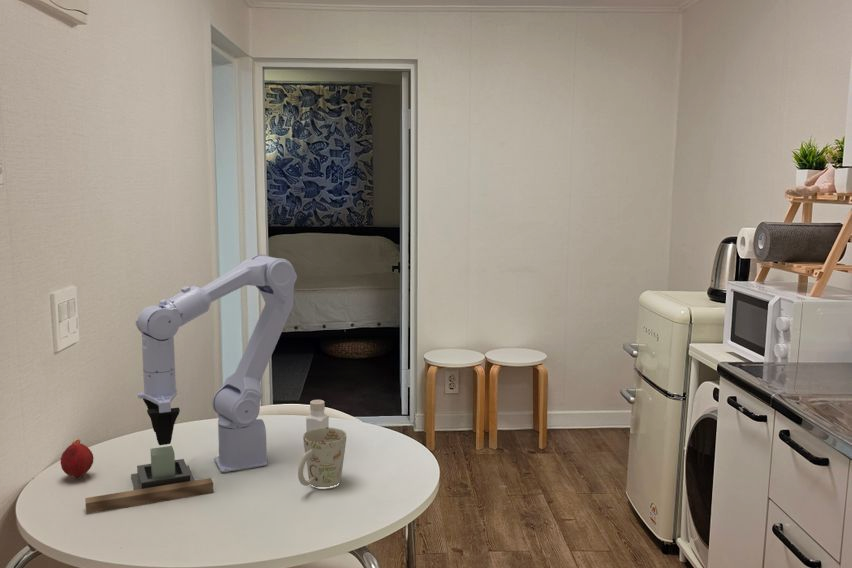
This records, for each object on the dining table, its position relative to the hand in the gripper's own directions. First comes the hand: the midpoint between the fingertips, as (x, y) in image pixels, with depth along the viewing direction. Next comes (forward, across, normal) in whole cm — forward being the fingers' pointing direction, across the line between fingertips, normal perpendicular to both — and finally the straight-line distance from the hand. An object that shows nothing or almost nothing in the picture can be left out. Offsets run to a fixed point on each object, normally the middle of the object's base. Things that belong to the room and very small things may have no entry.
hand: (162, 437), depth 144 cm
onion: (+10, -9, -15) cm, 20 cm away
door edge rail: (+9, +7, -3) cm, 12 cm away
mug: (+10, +14, +27) cm, 32 cm away
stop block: (+9, 0, 0) cm, 9 cm away
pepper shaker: (+10, -9, +34) cm, 36 cm away
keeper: (+9, 0, 0) cm, 9 cm away
